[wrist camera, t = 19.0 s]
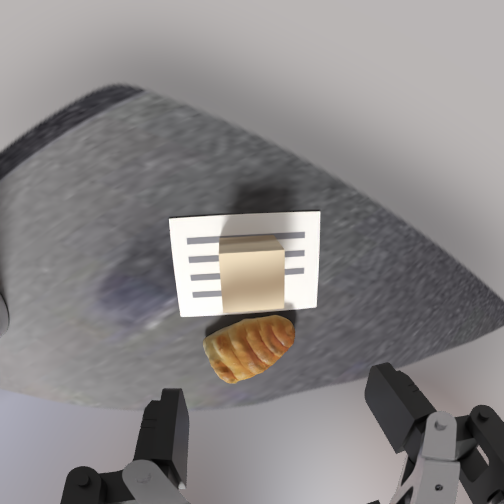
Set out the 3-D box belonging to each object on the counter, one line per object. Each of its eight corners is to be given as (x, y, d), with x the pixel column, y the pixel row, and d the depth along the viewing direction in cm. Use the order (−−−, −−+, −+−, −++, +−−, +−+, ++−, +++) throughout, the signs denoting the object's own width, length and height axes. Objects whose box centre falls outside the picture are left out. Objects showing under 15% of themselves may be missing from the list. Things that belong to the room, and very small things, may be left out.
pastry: (276, 294, 29) (283, 312, 25) (303, 340, 31) (312, 360, 27) (198, 336, 30) (195, 357, 26) (231, 375, 32) (232, 398, 28)
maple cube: (219, 237, 26) (218, 253, 22) (273, 234, 27) (284, 249, 22) (222, 288, 28) (223, 312, 23) (274, 284, 28) (284, 308, 23)
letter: (181, 316, 28) (180, 317, 28) (169, 218, 26) (168, 218, 25) (315, 306, 30) (316, 307, 29) (319, 211, 27) (320, 211, 27)
